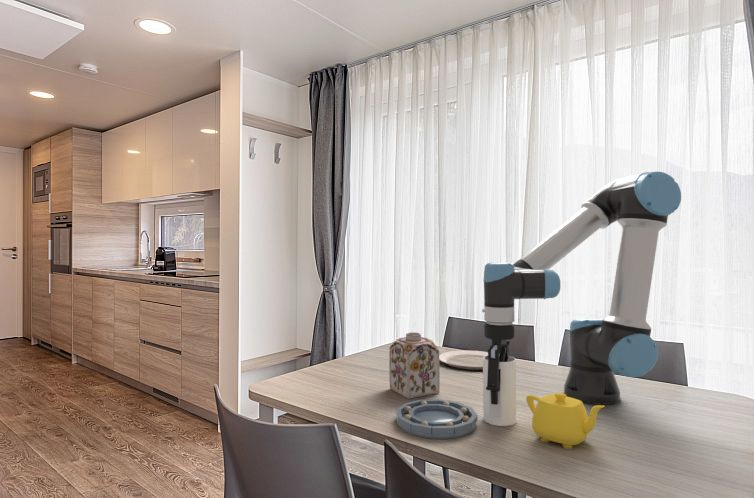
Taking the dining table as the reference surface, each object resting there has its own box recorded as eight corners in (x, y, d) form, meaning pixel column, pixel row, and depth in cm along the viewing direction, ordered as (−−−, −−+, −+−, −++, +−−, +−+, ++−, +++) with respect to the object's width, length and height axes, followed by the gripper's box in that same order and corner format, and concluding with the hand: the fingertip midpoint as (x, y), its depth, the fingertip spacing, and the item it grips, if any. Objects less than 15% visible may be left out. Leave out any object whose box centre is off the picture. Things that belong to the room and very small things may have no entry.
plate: (427, 358, 186) (427, 353, 186) (483, 353, 194) (483, 348, 194) (457, 374, 162) (457, 369, 162) (520, 368, 170) (520, 363, 170)
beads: (478, 412, 122) (478, 405, 122) (458, 436, 106) (458, 429, 106) (417, 402, 130) (417, 396, 130) (390, 423, 114) (390, 416, 114)
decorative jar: (388, 388, 146) (388, 332, 146) (419, 383, 151) (419, 328, 151) (408, 400, 136) (407, 338, 135) (440, 393, 141) (440, 334, 141)
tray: (485, 416, 122) (485, 406, 122) (462, 445, 104) (462, 433, 104) (415, 404, 131) (415, 395, 131) (383, 429, 114) (383, 419, 114)
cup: (517, 427, 115) (517, 362, 114) (483, 425, 116) (483, 361, 116) (514, 415, 123) (514, 355, 122) (482, 413, 124) (482, 353, 124)
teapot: (613, 444, 104) (613, 397, 104) (595, 461, 96) (595, 410, 96) (536, 423, 117) (536, 381, 117) (515, 436, 109) (515, 391, 109)
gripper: (494, 315, 130) (494, 396, 130) (473, 328, 112) (473, 421, 112) (521, 317, 127) (522, 400, 127) (504, 330, 108) (505, 427, 108)
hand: (499, 410), depth 119 cm, fingers closed on cup, 8 cm apart
